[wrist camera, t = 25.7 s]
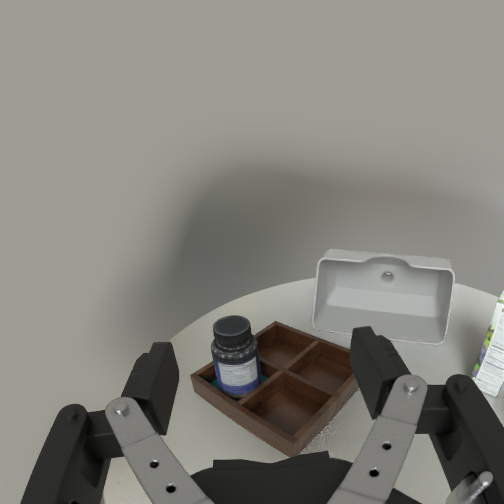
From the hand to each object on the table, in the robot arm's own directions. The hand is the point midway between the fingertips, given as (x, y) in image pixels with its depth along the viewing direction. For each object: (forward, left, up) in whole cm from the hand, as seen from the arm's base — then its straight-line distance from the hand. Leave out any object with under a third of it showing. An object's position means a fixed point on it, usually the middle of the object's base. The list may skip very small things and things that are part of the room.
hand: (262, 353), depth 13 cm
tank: (+44, +10, -24) cm, 51 cm away
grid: (+17, +14, -24) cm, 33 cm away
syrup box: (+33, -14, -24) cm, 44 cm away
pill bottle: (+13, +18, -24) cm, 33 cm away
